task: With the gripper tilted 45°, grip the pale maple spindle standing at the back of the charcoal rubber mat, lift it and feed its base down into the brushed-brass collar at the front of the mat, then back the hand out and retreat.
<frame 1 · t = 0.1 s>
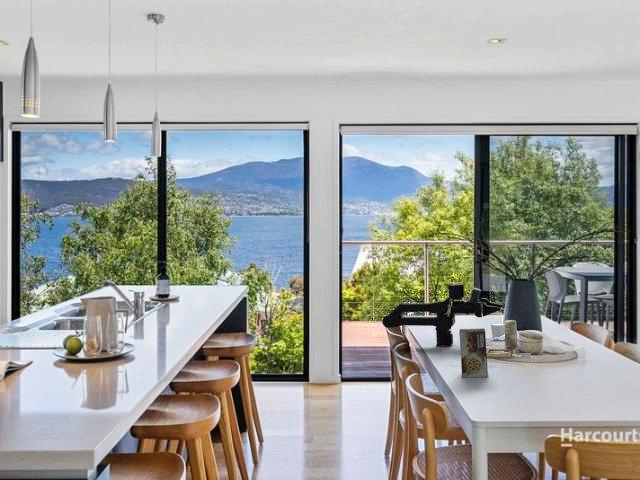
hand: (501, 307, 288), 17 cm above the table, tool horizontal, fingers open, 9 cm apart
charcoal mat: (500, 354, 271), on the table
shot glass: (499, 339, 305), on the table
maple spindle: (511, 350, 274), point 1 cm above the table, touching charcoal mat
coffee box: (474, 375, 237), on the table
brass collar: (498, 354, 266), resting on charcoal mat
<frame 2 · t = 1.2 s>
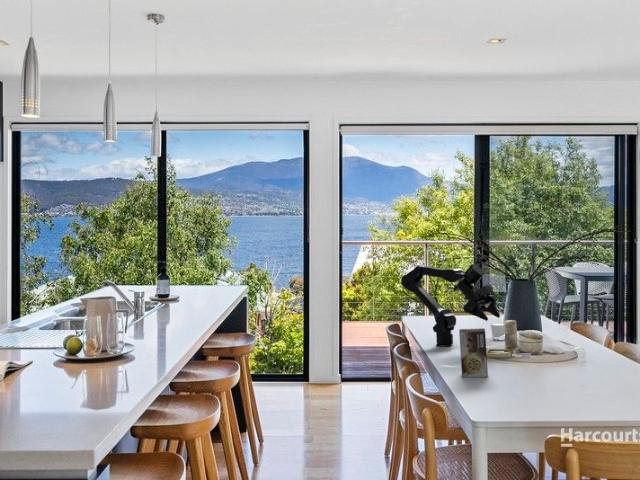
hand: (493, 318, 279), 13 cm above the table, tool tilted 45°, fingers open, 9 cm apart
nothing on the table moved.
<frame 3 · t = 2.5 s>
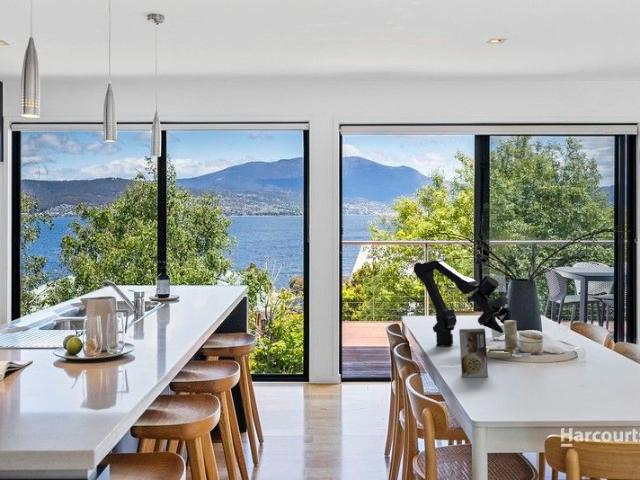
hand: (508, 330, 274), 9 cm above the table, tool tilted 45°, fingers open, 9 cm apart
nothing on the table moved.
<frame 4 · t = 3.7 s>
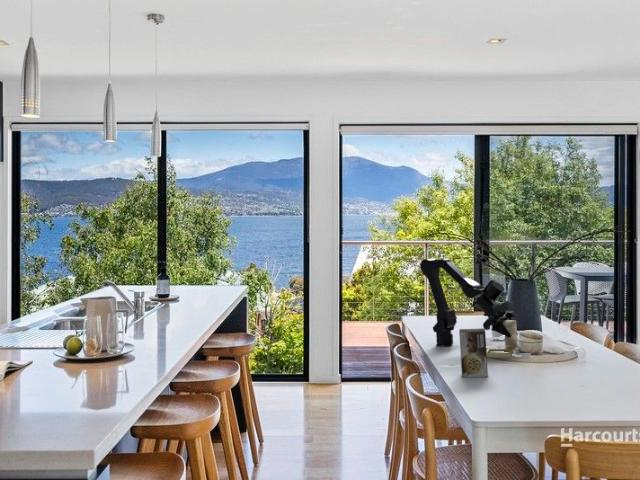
hand: (513, 336, 273), 7 cm above the table, tool tilted 45°, fingers closed on maple spindle, 5 cm apart
maple spindle: (511, 350, 274), point 1 cm above the table, touching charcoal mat, gripper
everything else where it was.
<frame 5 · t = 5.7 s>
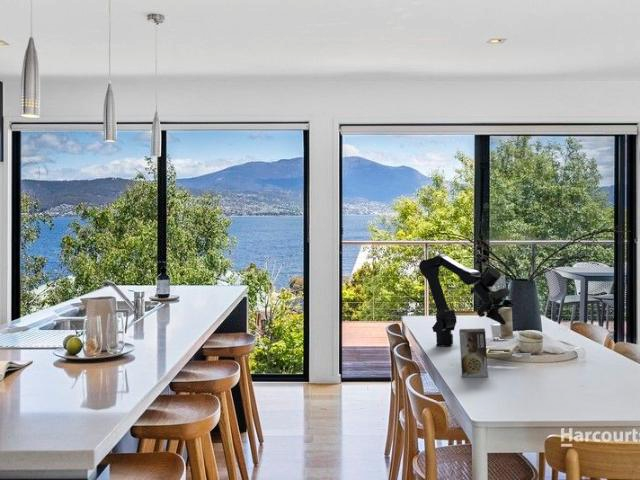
hand: (509, 323, 269), 13 cm above the table, tool tilted 45°, fingers closed on maple spindle, 5 cm apart
maple spindle: (506, 337, 270), point 7 cm above the table, touching gripper
everything else where it was.
when the fingers open (8 cm above the table, at t = 7.7 s): maple spindle stays where it is, resting on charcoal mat.
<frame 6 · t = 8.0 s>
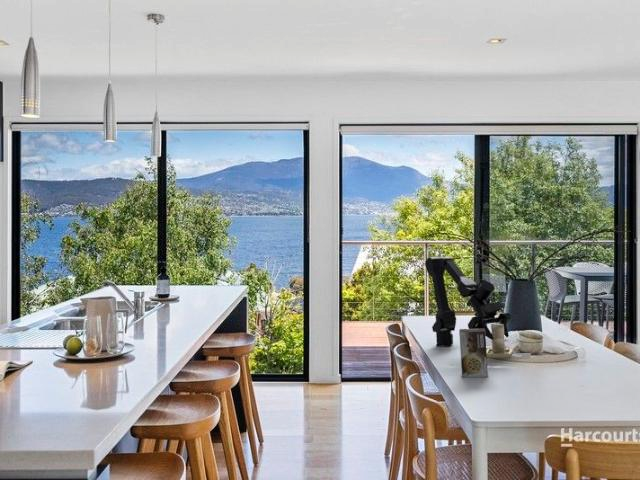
hand: (500, 337, 264), 8 cm above the table, tool tilted 45°, fingers open, 7 cm apart
maple spindle: (498, 354, 266), point 1 cm above the table, touching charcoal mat
everything else where it was.
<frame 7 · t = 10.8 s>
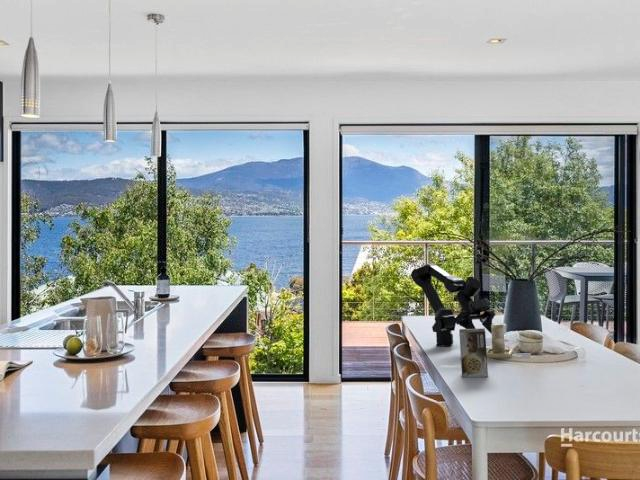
hand: (485, 334, 274), 8 cm above the table, tool tilted 40°, fingers open, 9 cm apart
nothing on the table moved.
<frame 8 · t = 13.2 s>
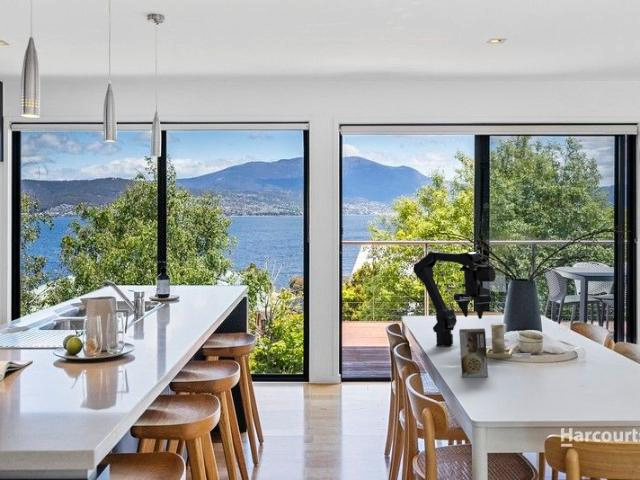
hand: (473, 317, 287), 13 cm above the table, tool pointing down, fingers open, 9 cm apart
nothing on the table moved.
at the end: maple spindle 0.1 cm off-centre on the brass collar, point 0.0 cm above the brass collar's base; maple spindle tilted 0°; the gripper is holding nothing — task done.
